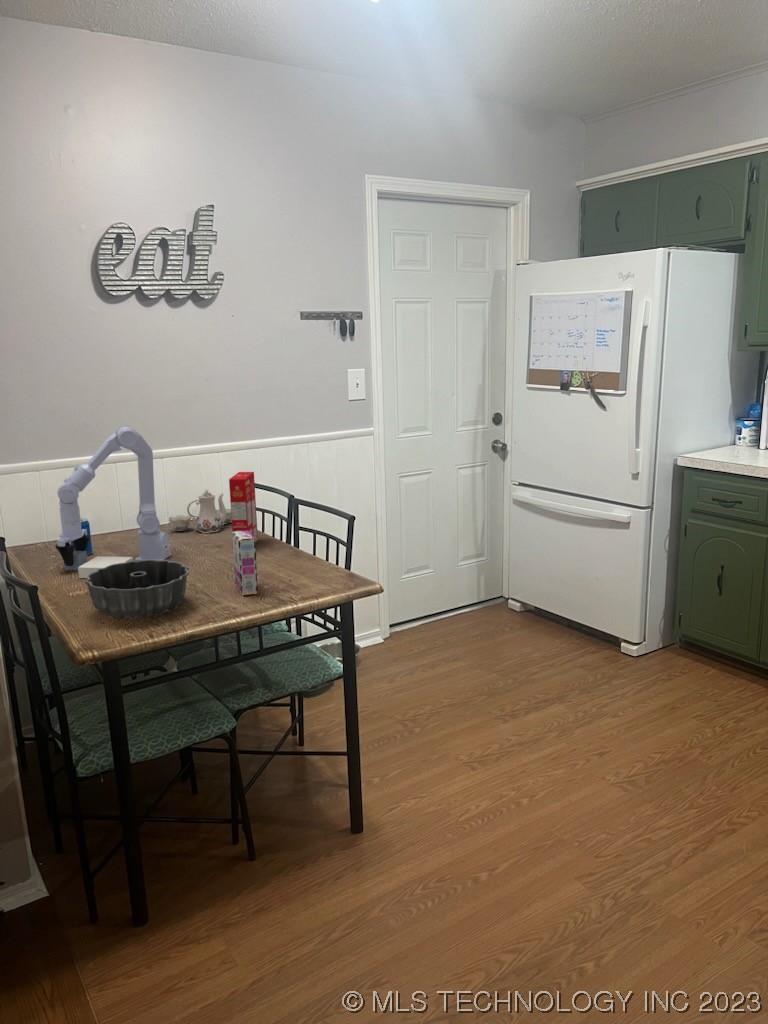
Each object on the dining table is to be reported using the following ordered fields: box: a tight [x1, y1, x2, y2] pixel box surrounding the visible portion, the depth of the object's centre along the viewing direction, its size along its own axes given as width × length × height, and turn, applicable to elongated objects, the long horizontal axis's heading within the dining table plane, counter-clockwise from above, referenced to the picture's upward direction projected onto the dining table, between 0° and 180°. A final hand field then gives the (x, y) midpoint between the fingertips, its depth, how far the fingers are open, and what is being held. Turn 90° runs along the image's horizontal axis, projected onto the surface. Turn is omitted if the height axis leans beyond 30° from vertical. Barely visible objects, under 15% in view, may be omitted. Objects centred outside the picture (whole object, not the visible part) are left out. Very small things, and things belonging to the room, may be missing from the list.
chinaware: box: [166, 489, 232, 532], centre depth 287 cm, size 28×17×17 cm, turn 130°
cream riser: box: [77, 556, 134, 578], centre depth 234 cm, size 12×12×4 cm
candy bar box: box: [231, 530, 259, 593], centre depth 214 cm, size 11×5×16 cm, turn 21°
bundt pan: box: [84, 559, 190, 620], centre depth 202 cm, size 26×26×10 cm
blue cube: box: [63, 551, 88, 571], centre depth 241 cm, size 5×5×5 cm
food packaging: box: [228, 471, 259, 540], centre depth 261 cm, size 15×5×25 cm, turn 178°
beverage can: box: [70, 517, 93, 556], centre depth 255 cm, size 6×6×12 cm
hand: (75, 562), depth 241 cm, fingers open, 7 cm apart
